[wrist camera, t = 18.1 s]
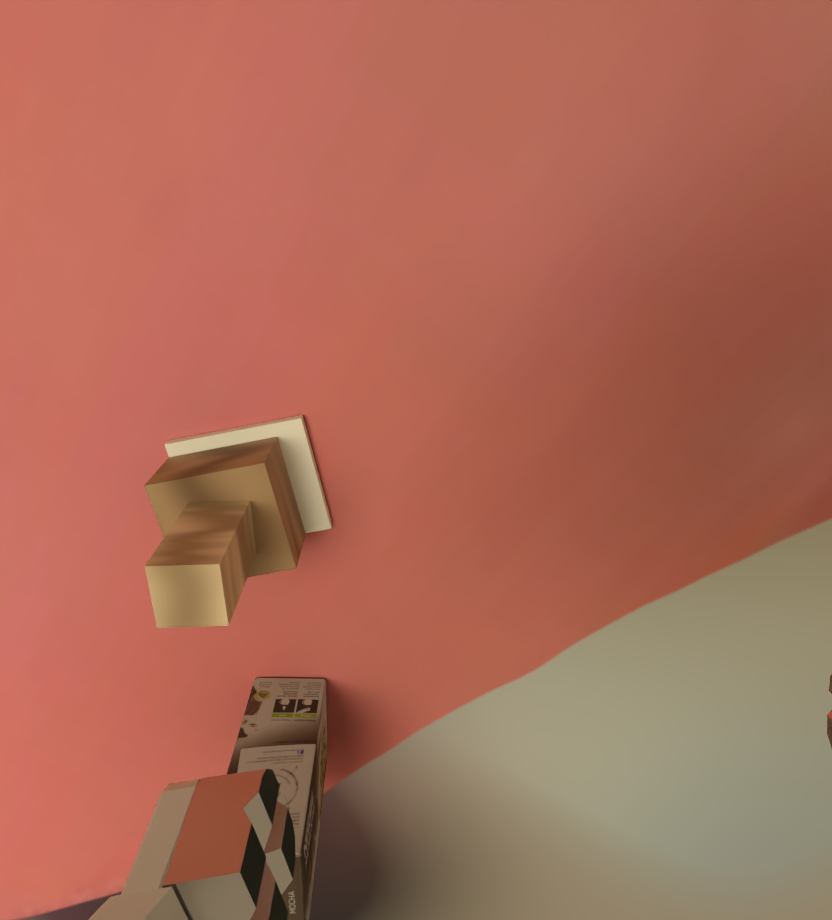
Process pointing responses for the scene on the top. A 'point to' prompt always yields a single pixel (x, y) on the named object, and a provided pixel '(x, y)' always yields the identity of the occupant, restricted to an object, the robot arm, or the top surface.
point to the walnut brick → (236, 496)
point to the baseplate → (294, 455)
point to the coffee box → (290, 765)
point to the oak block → (202, 565)
